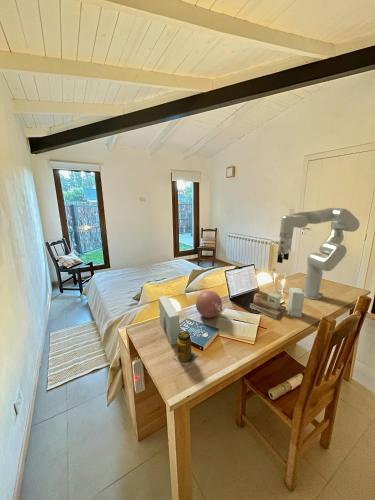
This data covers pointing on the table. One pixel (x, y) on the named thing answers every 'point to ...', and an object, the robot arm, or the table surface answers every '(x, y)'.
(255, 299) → the jar
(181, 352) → the condiment
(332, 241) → the robot arm
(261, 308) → the shelf
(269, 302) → the carton
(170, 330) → the skincare box
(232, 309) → the table surface
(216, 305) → the pink ball
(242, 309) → the table surface
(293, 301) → the skincare box
